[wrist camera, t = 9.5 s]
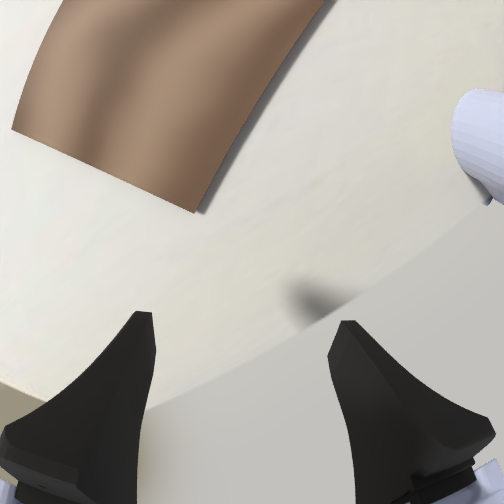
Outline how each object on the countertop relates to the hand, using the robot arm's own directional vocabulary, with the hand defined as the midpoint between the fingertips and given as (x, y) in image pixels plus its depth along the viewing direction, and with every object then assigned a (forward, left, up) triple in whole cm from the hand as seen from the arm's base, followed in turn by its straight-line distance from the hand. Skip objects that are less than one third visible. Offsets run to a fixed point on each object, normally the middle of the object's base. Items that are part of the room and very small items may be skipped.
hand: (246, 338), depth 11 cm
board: (+10, -9, -9) cm, 16 cm away
